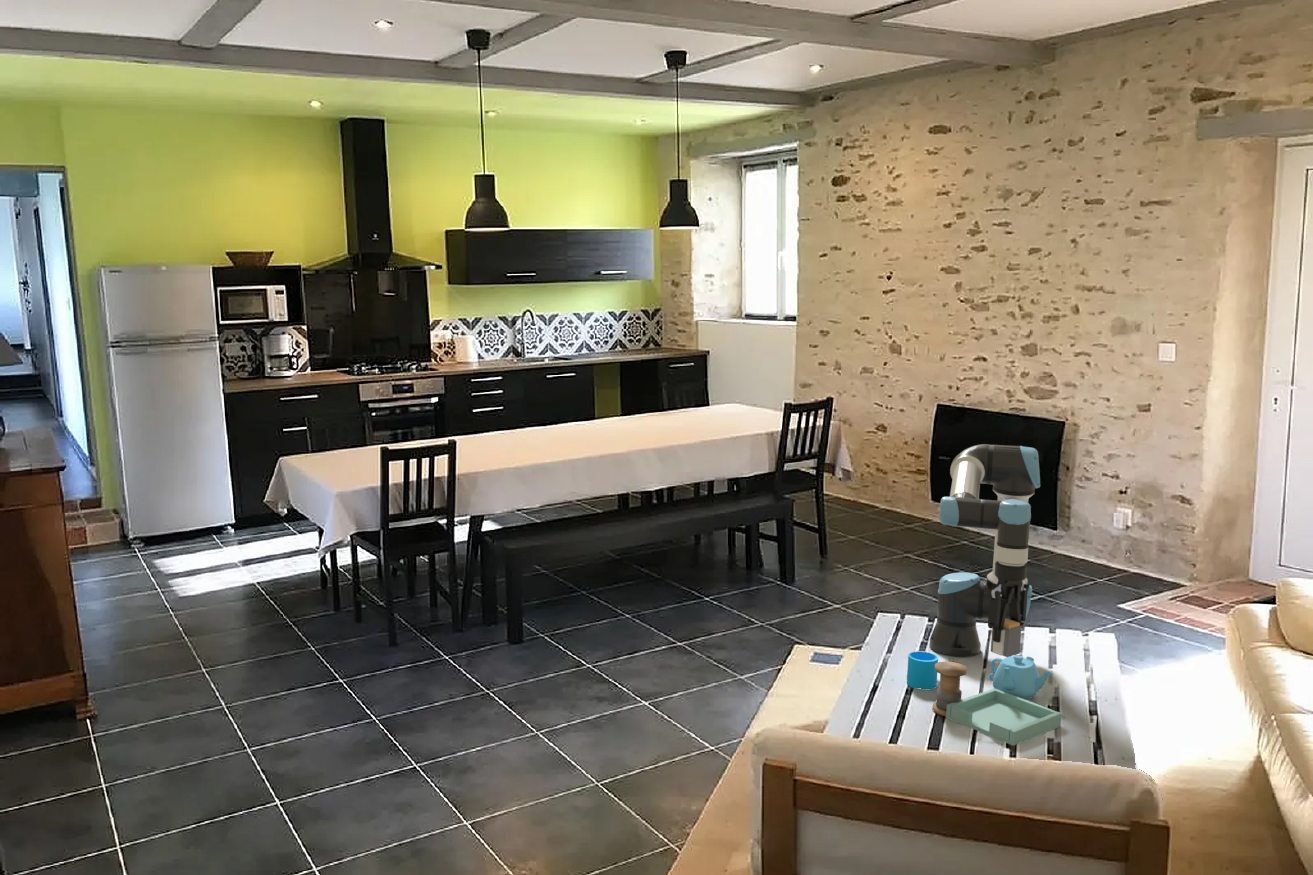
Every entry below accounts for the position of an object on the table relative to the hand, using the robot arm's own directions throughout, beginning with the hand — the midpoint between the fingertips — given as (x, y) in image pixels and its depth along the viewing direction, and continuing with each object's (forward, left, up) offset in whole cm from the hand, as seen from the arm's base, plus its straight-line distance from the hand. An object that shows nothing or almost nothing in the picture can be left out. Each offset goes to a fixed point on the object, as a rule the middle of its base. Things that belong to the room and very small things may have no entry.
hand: (1004, 651), depth 265 cm
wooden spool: (+6, -12, -19) cm, 23 cm away
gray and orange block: (0, 0, 0) cm, 0 cm away
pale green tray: (0, 0, -19) cm, 19 cm away
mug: (-5, -29, -19) cm, 35 cm away
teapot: (-18, -8, -19) cm, 28 cm away
